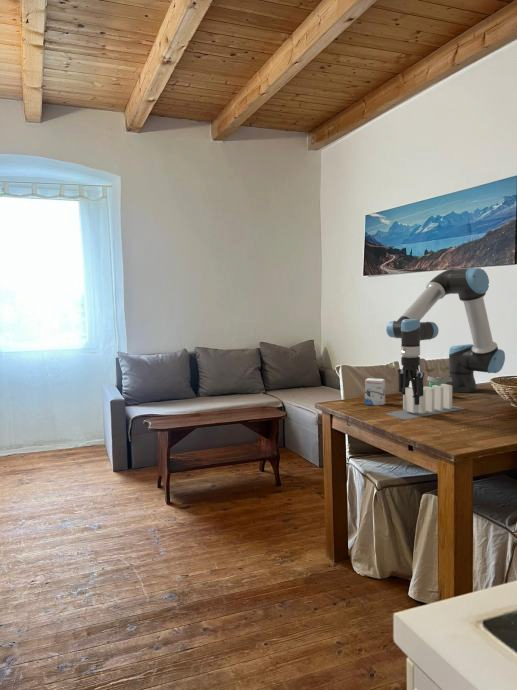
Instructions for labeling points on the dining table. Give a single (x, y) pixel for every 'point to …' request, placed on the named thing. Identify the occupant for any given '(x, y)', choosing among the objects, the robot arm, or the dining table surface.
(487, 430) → the dining table surface
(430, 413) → the mat
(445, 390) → the domino
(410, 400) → the domino
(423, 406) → the domino
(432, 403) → the domino
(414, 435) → the dining table surface
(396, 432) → the dining table surface
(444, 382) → the food container
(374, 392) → the ink box
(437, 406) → the domino
